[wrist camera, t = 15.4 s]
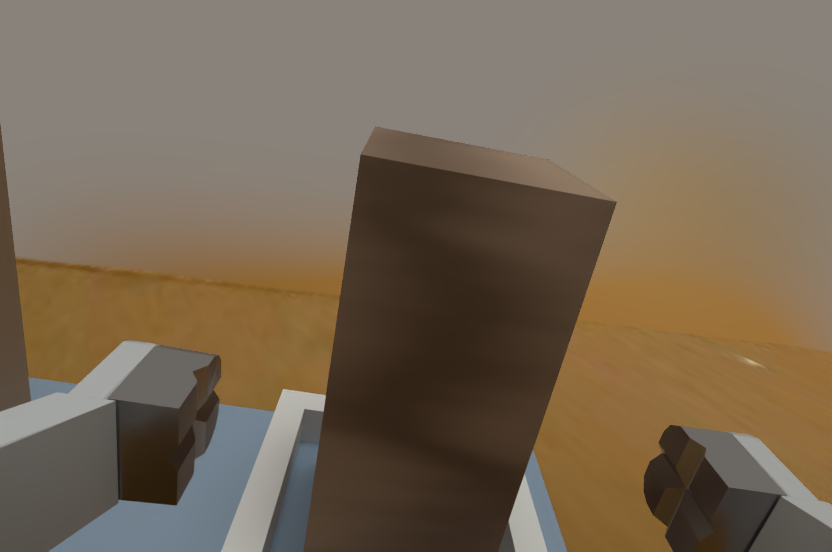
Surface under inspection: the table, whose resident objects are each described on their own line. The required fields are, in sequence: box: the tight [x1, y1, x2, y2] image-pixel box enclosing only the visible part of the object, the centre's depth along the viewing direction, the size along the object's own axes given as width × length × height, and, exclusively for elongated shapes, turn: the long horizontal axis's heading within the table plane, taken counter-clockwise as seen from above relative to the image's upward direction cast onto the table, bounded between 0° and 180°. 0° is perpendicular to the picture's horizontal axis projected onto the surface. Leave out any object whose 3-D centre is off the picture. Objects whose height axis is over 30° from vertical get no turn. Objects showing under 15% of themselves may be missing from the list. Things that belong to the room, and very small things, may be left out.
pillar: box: [303, 127, 617, 552], centre depth 14 cm, size 5×5×12 cm
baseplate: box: [0, 127, 567, 552], centre depth 14 cm, size 24×10×13 cm, turn 91°
